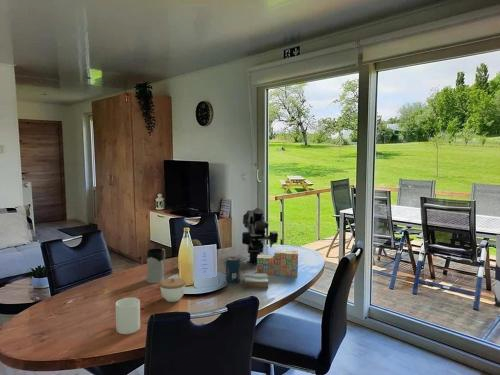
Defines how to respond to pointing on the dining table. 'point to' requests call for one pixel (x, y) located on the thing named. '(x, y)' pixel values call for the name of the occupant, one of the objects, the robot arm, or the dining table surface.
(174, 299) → the lidded jar
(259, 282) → the walnut stand
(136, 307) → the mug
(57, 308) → the dining table surface
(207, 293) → the dining table surface
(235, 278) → the soda can
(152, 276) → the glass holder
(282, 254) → the stack of blocks
